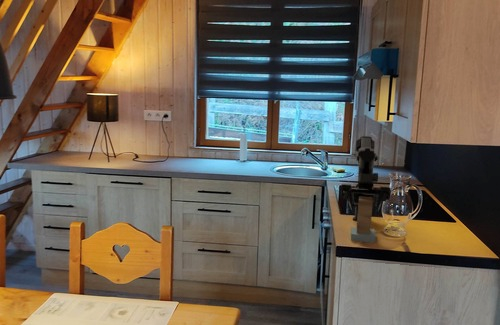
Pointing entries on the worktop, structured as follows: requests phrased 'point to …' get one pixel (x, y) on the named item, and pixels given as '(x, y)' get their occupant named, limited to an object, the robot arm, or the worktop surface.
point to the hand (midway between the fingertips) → (364, 210)
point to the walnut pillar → (364, 214)
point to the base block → (363, 235)
